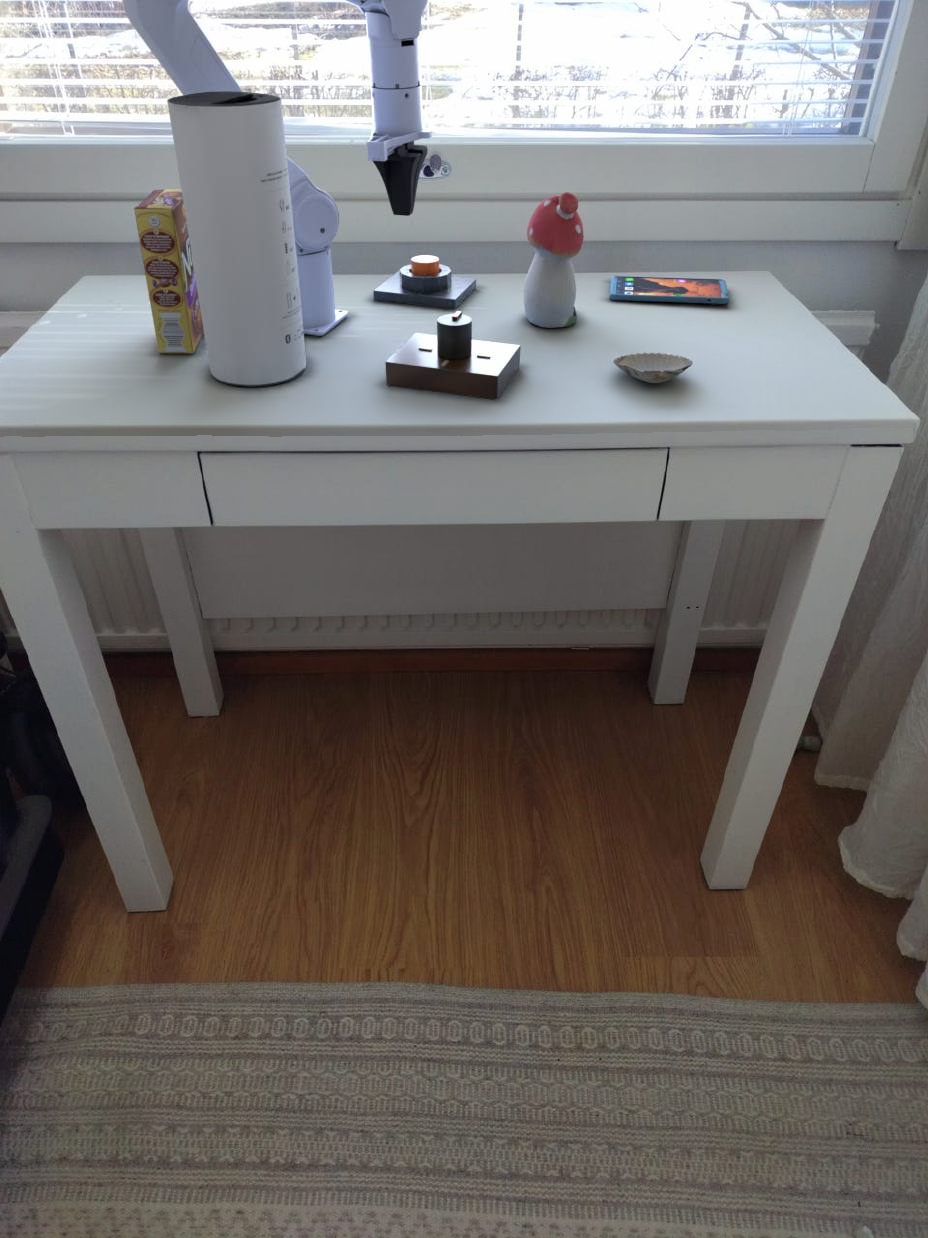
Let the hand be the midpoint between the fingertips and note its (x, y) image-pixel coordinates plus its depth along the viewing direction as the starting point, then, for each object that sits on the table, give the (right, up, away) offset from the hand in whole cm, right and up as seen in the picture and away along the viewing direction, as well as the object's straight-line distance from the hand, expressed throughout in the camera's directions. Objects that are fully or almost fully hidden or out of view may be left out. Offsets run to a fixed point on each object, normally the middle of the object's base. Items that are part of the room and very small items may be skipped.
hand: (403, 213), depth 111 cm
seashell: (+27, -24, -13) cm, 38 cm away
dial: (+6, -21, -15) cm, 27 cm away
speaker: (-15, -22, -12) cm, 29 cm away
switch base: (+2, -7, +8) cm, 11 cm away
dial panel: (+6, -23, -13) cm, 28 cm away
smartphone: (+34, -7, +9) cm, 36 cm away
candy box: (-25, -17, -5) cm, 30 cm away
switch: (+2, -5, +7) cm, 9 cm away
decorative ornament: (+18, -13, +1) cm, 22 cm away
